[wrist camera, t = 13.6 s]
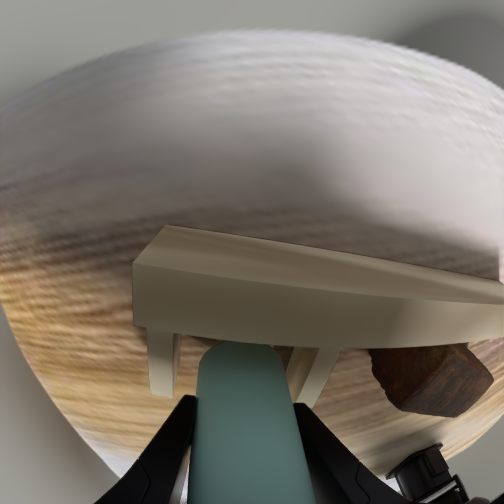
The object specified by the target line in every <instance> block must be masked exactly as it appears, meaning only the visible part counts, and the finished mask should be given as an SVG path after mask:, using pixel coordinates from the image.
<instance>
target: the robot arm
mask: <svg viewBox="0 0 504 504" xmlns="http://www.w3.org/2000/svg"><path fill="white" fill-rule="evenodd" d="M195 405H196V396H194V395H187V394H186V395H184V396H183V397H182V399H181V400H180V401H179V403H178V404H177V406H176V407H175V408H174V410H173V411H172V413H171V414H170V415H169V417H168V418H167V420H166V421H165V422H164V424H163V425H162V426H161V428H160V429H159V431H158V432H157V433H156V435H155V436H154V437H153V439H152V440H151V441H150V443H149V444H148V445H147V447H146V448H145V449H144V451H143V452H142V453H141V455H140V456H139V459H137V460H136V461H135V463H134V464H133V465H132V467H131V468H130V469H129V470H128V471H127V473H126V474H125V475H124V476H123V477H122V478H121V479H120V480H119V481H118V482H117V483H116V484H115V485H114V486H113V487H112V488H111V489H110V490H109V491H108V492H106V493H105V494H104V495H103V496H102V497H101V498H100V499H99V500H97V501H96V502H95V503H94V504H180V500H181V495H182V490H183V486H184V481H185V477H186V472H187V468H188V464H189V459H190V450H191V440H192V433H193V425H194V415H195ZM293 407H294V411H295V415H296V420H297V424H298V428H299V432H300V436H301V441H302V445H303V449H304V453H305V457H306V462H307V466H308V470H309V474H310V479H311V483H312V487H313V491H314V496H315V500H316V504H504V492H503V493H502V494H500V495H499V496H497V497H496V498H494V499H493V500H492V501H489V500H488V499H486V498H483V497H475V498H473V499H471V500H470V498H469V496H468V493H467V491H466V489H465V487H464V485H463V483H462V481H461V479H460V478H459V476H458V475H457V474H455V475H454V476H453V477H451V475H450V474H449V471H448V469H449V467H448V465H447V463H446V462H445V460H444V458H443V456H442V454H441V453H440V451H439V450H440V449H441V448H442V447H443V444H442V443H441V444H439V445H437V446H434V447H432V448H429V449H427V450H424V451H421V452H418V453H416V454H413V455H411V456H409V457H408V458H407V459H406V460H405V461H404V462H403V463H402V464H400V465H399V466H398V467H397V468H396V469H395V470H394V471H392V472H391V473H390V474H389V475H388V476H386V480H388V479H391V478H394V477H395V478H396V480H397V483H398V485H399V488H400V490H401V492H402V495H403V496H402V495H401V494H399V493H398V492H396V491H395V490H393V489H392V488H391V487H389V486H388V485H387V484H385V483H384V482H383V481H381V480H380V479H379V478H378V477H376V476H375V475H374V474H373V473H372V472H371V471H369V470H368V469H367V468H366V467H365V466H364V465H363V464H362V463H361V462H359V460H358V459H357V458H356V457H355V456H354V455H353V454H352V453H351V452H350V451H349V450H348V449H347V448H346V447H345V446H344V445H343V444H342V443H341V441H340V440H339V439H338V438H337V437H336V436H335V435H334V434H333V433H332V432H331V431H330V430H329V429H328V428H327V427H326V426H325V424H324V423H323V422H322V421H321V420H320V419H319V418H318V417H317V416H316V415H315V414H314V412H313V411H312V410H311V409H310V408H309V407H308V406H307V405H306V404H305V403H303V402H295V403H293ZM455 482H456V485H455V486H454V487H452V488H451V489H449V490H447V491H446V492H444V493H443V494H441V495H440V496H438V497H436V498H435V499H433V500H431V501H430V502H428V503H423V502H425V501H427V500H428V499H430V498H432V497H433V496H435V495H437V494H438V493H440V492H441V491H443V490H444V489H446V488H447V487H449V486H450V485H452V484H453V483H455ZM458 490H460V491H458Z"/></svg>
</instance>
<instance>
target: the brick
mask: <svg viewBox="0 0 504 504" xmlns="http://www.w3.org/2000/svg"><path fill="white" fill-rule="evenodd" d="M368 351H369V354H370V356H371V358H372V359H371V362H372V373H373V375H374V377H375V378H376V379H377V380H378V382H379V383H380V384H381V387H382V388H383V389H384V390H385V394H386V396H387V398H388V400H389V401H390V402H391V403H392V404H393V405H394V406H395V407H396V408H398V409H399V410H401V411H403V412H412V413H418V414H425V415H433V416H442V417H452V418H454V417H457V416H459V415H460V414H462V413H464V412H465V411H467V410H468V409H469V408H470V407H471V406H472V405H473V404H474V403H475V402H476V401H477V400H478V399H479V398H480V397H481V396H482V395H483V394H484V393H485V392H486V391H487V390H488V388H489V387H490V386H491V385H492V383H493V382H494V378H493V376H492V375H491V373H490V372H489V371H488V369H487V368H486V367H485V366H484V365H483V364H482V363H481V362H480V361H479V359H478V358H476V356H475V355H474V354H473V353H472V352H471V351H470V350H468V349H467V348H466V347H465V346H464V345H462V344H461V343H455V344H445V345H434V346H419V347H400V348H369V350H368Z"/></svg>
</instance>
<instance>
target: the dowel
mask: <svg viewBox="0 0 504 504" xmlns="http://www.w3.org/2000/svg"><path fill="white" fill-rule="evenodd" d="M187 504H316V500H315V496H314V491H313V487H312V483H311V479H310V474H309V470H308V466H307V462H306V457H305V453H304V449H303V445H302V441H301V436H300V432H299V428H298V424H297V420H296V415H295V411H294V407H293V403H292V399H291V394H290V390H289V386H288V382H287V378H286V374H285V370H284V365H283V362H282V359H281V357H280V355H279V354H278V352H277V351H276V350H275V349H273V348H272V347H270V346H269V345H267V344H256V343H245V342H236V341H225V342H222V343H219V344H217V345H215V346H213V347H212V348H210V349H209V350H208V351H207V352H206V353H205V354H204V355H203V357H202V358H201V361H200V364H199V371H198V380H197V388H196V405H195V415H194V425H193V433H192V440H191V450H190V463H189V477H188V493H187Z"/></svg>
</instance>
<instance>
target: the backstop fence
mask: <svg viewBox="0 0 504 504" xmlns="http://www.w3.org/2000/svg"><path fill="white" fill-rule="evenodd" d="M132 296H133V323H134V325H135V326H140V327H145V328H147V349H148V366H149V380H150V391H151V394H152V395H157V396H162V397H167V398H173V394H174V389H175V383H176V378H177V373H178V368H179V363H180V343H181V334H184V335H191V336H197V337H204V338H212V339H219V340H227V341H236V342H245V343H256V344H267V345H280V346H294V349H293V352H292V354H291V357H290V360H289V363H288V366H287V368H286V371H285V374H286V378H287V382H288V386H289V390H290V394H291V399H292V403H295V402H303V403H305V404H306V405H307V406H308V407H309V408H313V407H314V405H315V403H316V401H317V399H318V397H319V396H320V394H321V392H322V390H323V388H324V386H325V384H326V382H327V380H328V378H329V376H330V374H331V372H332V370H333V368H334V365H335V363H336V361H337V359H338V357H339V355H340V352H341V350H342V348H400V347H419V346H434V345H445V344H455V343H464V342H472V341H480V340H487V339H494V338H500V337H504V284H503V283H502V282H500V281H496V280H491V279H486V278H481V277H476V276H471V275H465V274H460V273H455V272H450V271H444V270H439V269H434V268H428V267H423V266H417V265H412V264H406V263H401V262H395V261H390V260H384V259H378V258H373V257H367V256H361V255H355V254H349V253H344V252H338V251H332V250H326V249H320V248H314V247H308V246H302V245H296V244H289V243H283V242H277V241H271V240H264V239H258V238H252V237H245V236H239V235H232V234H226V233H219V232H213V231H206V230H199V229H192V228H186V227H179V226H172V225H165V226H164V227H163V228H162V229H161V231H160V232H159V233H158V234H157V235H156V236H155V237H154V238H153V239H152V241H151V242H150V243H149V244H148V245H147V246H146V247H145V249H144V250H143V251H142V252H141V253H140V254H139V256H138V257H137V258H136V259H135V260H134V261H133V263H132Z"/></svg>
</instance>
